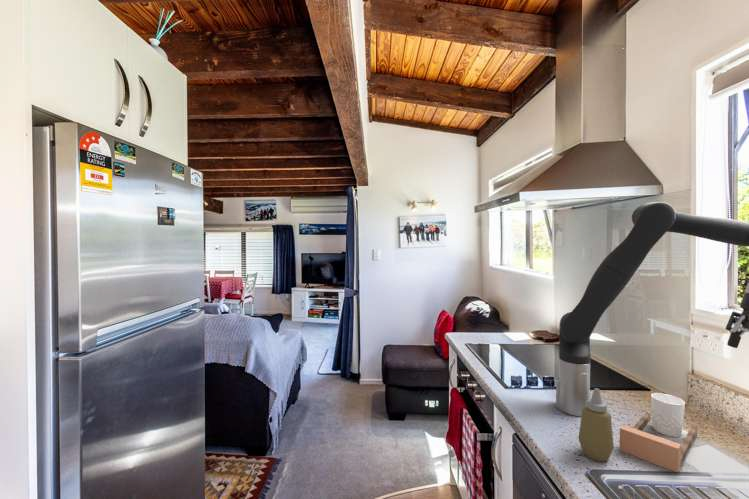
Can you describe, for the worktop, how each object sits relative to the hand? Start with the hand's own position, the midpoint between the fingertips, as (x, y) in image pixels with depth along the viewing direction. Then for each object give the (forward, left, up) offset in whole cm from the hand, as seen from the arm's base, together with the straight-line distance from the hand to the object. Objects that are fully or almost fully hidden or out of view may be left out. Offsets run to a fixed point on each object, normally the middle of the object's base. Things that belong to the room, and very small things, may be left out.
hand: (743, 350), depth 99 cm
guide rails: (-15, -15, -27) cm, 34 cm away
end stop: (-15, -28, -27) cm, 42 cm away
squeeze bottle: (-25, -38, -27) cm, 53 cm away
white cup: (-15, -7, -27) cm, 32 cm away
